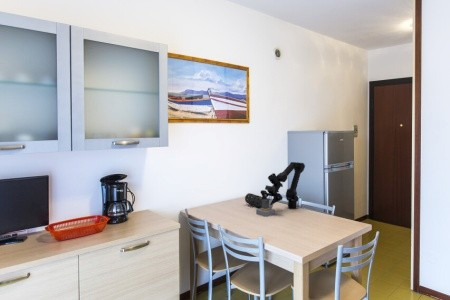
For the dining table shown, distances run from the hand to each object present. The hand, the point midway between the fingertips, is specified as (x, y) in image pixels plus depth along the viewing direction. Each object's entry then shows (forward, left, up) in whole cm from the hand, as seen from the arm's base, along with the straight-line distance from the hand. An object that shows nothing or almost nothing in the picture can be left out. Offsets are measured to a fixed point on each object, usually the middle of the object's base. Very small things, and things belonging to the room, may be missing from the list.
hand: (266, 203), depth 236 cm
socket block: (0, +1, -9) cm, 9 cm away
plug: (0, +1, -8) cm, 8 cm away
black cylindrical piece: (+6, -21, -9) cm, 24 cm away
